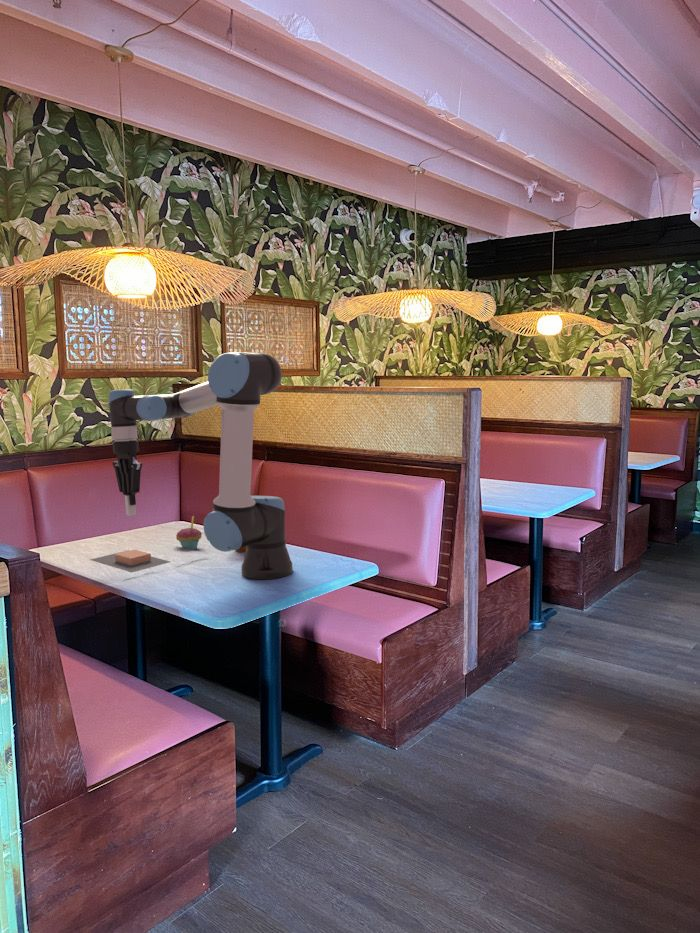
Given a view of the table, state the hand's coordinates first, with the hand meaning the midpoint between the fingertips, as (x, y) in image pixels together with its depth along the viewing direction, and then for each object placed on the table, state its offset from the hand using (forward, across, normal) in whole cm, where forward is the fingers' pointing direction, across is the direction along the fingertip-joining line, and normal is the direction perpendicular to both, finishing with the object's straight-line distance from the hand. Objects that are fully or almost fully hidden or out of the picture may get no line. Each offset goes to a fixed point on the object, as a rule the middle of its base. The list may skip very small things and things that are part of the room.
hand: (131, 515), depth 214 cm
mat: (+16, +3, 0) cm, 16 cm away
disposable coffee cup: (+17, -14, -33) cm, 39 cm away
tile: (+14, +5, 0) cm, 15 cm away
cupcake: (+16, +3, -23) cm, 28 cm away
